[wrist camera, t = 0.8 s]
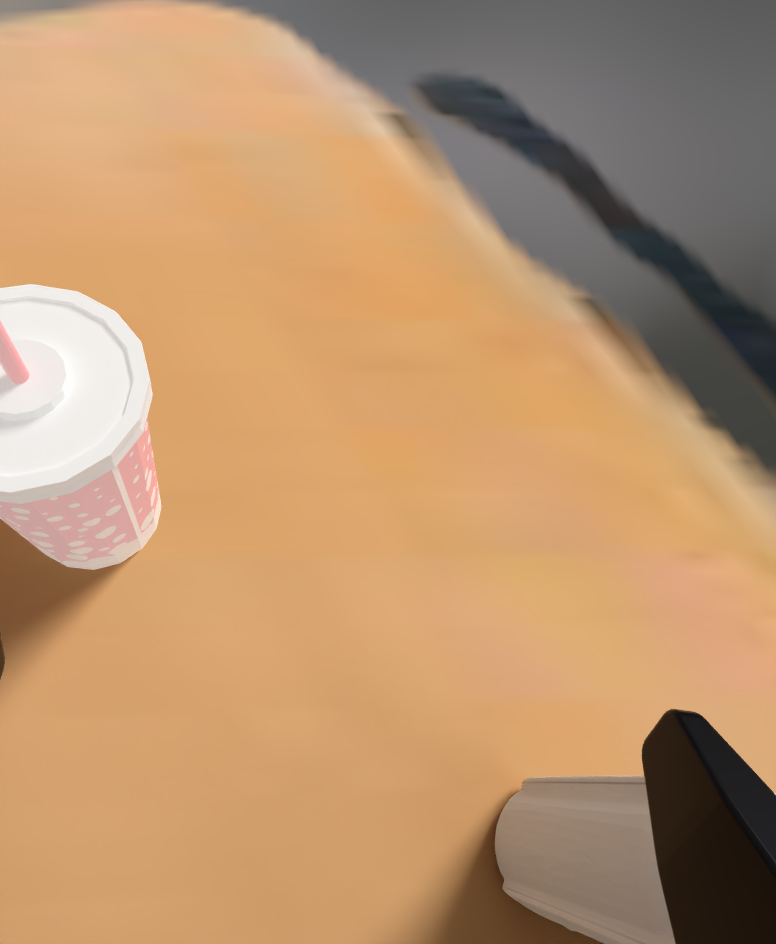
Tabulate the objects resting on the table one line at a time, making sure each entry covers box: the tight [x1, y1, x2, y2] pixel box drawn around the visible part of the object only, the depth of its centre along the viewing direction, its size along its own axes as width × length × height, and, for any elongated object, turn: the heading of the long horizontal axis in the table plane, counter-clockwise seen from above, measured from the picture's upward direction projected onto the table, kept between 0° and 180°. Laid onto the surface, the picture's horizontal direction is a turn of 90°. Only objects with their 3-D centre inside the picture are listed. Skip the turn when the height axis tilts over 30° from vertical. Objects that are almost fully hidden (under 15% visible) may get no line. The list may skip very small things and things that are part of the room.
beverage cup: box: [0, 284, 161, 570], centre depth 19 cm, size 6×6×14 cm
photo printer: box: [495, 776, 776, 944], centre depth 17 cm, size 10×4×12 cm, turn 73°
